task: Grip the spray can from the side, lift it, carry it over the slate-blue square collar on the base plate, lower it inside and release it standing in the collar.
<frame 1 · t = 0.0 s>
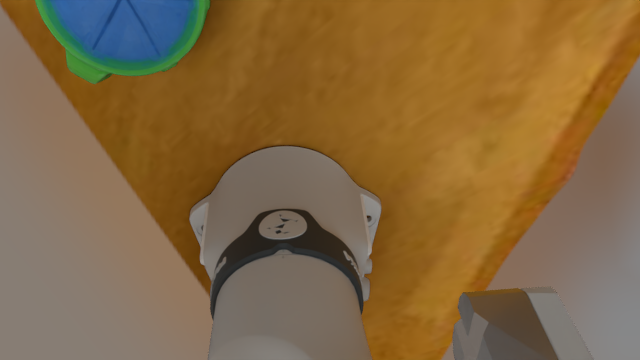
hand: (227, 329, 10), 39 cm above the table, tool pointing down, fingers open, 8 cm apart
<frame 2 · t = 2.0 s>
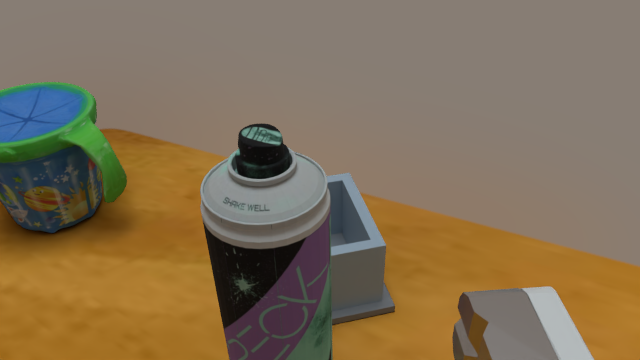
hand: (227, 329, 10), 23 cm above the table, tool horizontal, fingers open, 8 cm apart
collar stand: (310, 275, 43), on the table
snack cup: (62, 210, 50), on the table
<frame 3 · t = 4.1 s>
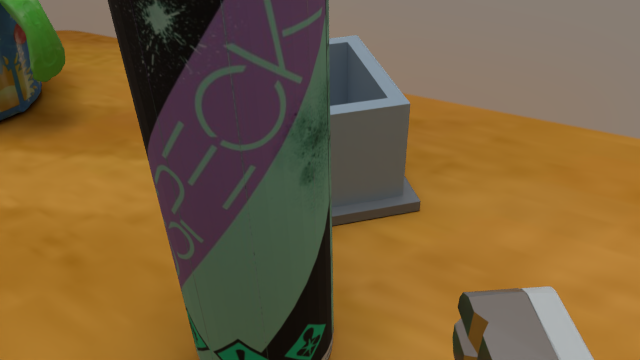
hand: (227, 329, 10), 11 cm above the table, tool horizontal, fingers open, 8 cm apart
collar stand: (305, 171, 32), on the table
spray can: (266, 341, 22), on the table
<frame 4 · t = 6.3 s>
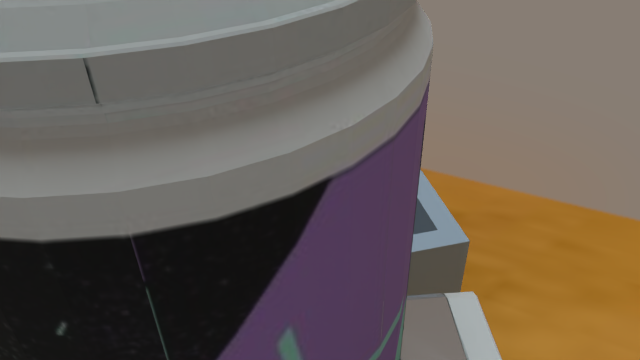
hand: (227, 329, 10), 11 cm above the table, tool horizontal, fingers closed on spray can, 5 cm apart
collar stand: (319, 294, 25), on the table
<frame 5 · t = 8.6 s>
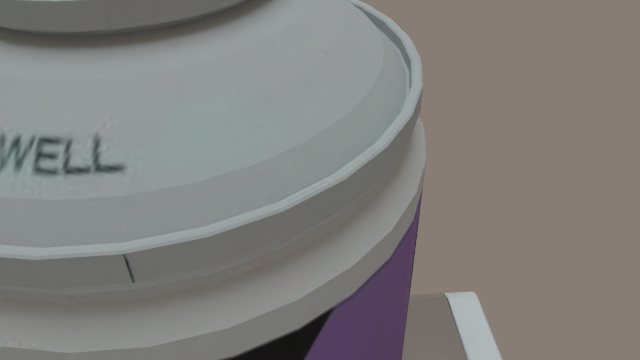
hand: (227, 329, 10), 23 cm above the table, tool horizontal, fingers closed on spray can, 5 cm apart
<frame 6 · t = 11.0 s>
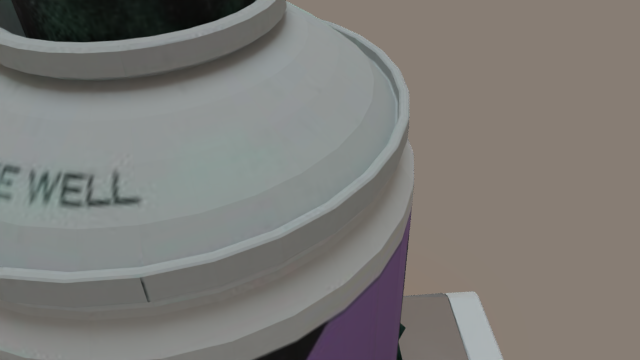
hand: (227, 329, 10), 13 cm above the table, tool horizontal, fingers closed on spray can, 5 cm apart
when the fingers open (13 cm above the table, at t = 11.7 s): spray can stays where it is, resting on collar stand.
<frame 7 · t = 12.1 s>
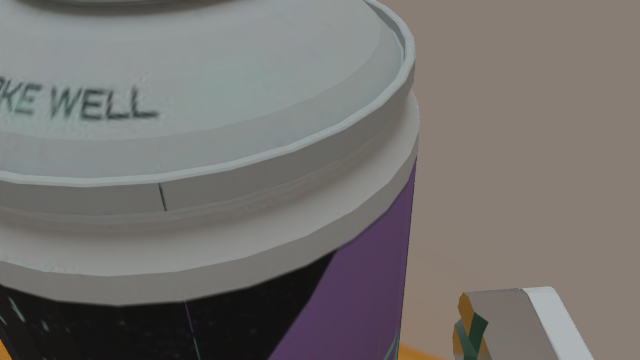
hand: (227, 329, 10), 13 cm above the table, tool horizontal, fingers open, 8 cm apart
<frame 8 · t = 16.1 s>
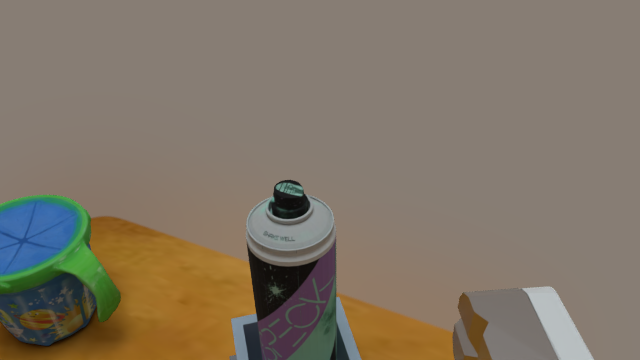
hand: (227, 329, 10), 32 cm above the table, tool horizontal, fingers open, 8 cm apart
snack cup: (57, 316, 51), on the table
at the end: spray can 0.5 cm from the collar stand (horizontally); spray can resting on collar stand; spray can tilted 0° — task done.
